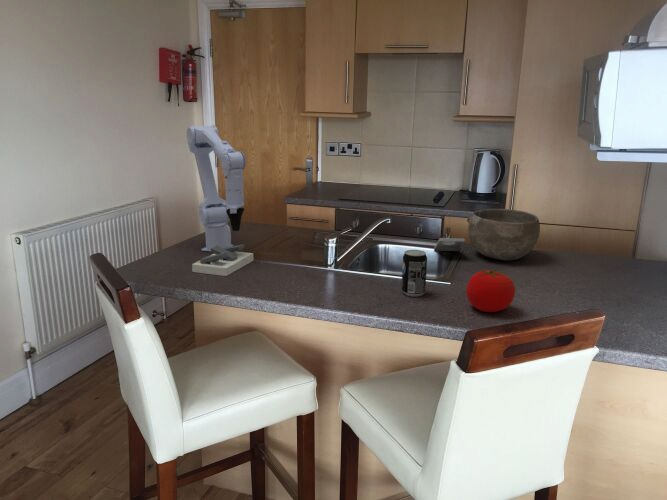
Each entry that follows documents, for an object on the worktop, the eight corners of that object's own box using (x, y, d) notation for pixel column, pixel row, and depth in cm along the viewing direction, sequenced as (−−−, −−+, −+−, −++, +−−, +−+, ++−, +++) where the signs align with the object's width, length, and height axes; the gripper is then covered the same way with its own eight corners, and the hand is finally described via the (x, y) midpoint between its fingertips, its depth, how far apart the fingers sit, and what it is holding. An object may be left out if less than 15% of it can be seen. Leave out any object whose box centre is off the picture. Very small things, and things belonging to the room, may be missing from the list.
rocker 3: (224, 251, 186) (223, 247, 185) (244, 247, 183) (243, 244, 182) (219, 254, 182) (218, 250, 182) (239, 250, 179) (238, 246, 179)
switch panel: (222, 256, 189) (221, 247, 188) (253, 260, 185) (253, 251, 184) (192, 271, 172) (191, 261, 171) (226, 276, 168) (225, 265, 168)
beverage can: (407, 287, 159) (408, 248, 156) (428, 292, 156) (431, 251, 153) (397, 294, 154) (399, 253, 151) (419, 299, 151) (421, 257, 147)
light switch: (457, 245, 199) (465, 235, 185) (457, 261, 197) (465, 252, 183) (433, 245, 199) (439, 235, 185) (433, 261, 198) (439, 252, 184)
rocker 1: (207, 260, 176) (205, 256, 176) (227, 255, 173) (226, 252, 172) (200, 263, 172) (199, 259, 172) (221, 258, 169) (220, 255, 169)
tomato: (466, 299, 151) (469, 262, 148) (512, 304, 147) (516, 267, 144) (463, 314, 140) (466, 275, 137) (513, 320, 137) (517, 280, 134)
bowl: (468, 265, 182) (472, 220, 178) (461, 246, 205) (463, 206, 201) (544, 268, 179) (549, 223, 175) (527, 248, 202) (532, 208, 198)
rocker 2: (216, 248, 180) (217, 245, 180) (237, 258, 178) (237, 255, 178) (210, 251, 177) (211, 248, 176) (231, 261, 175) (232, 258, 175)
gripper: (224, 186, 185) (226, 225, 188) (219, 193, 171) (221, 235, 174) (245, 186, 185) (246, 225, 189) (242, 193, 171) (243, 235, 175)
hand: (236, 230), depth 182 cm, fingers closed
